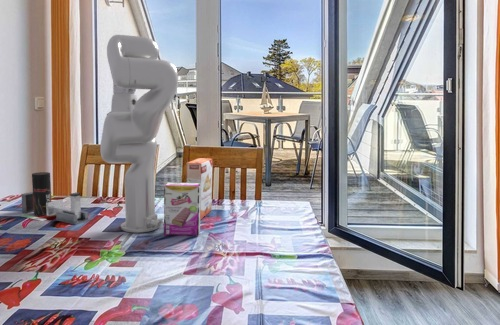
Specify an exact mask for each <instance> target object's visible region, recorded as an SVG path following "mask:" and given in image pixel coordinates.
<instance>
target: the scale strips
mask: <svg viewBox="0 0 500 325" xmlns="http://www.w3.org/2000/svg"><path fill="white" fill-rule="evenodd" d="M31 220H34V221H40V222H44V221H47V220H48V219H47V218H44V217H38V216H35V217H33V218H31Z"/></svg>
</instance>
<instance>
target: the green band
mask: <svg viewBox="0 0 500 325" xmlns="http://www.w3.org/2000/svg"><path fill="white" fill-rule="evenodd" d="M20 217H21V218H27V219H31V218H33V217H36V215H30V214H27V213H24V214H21V215H20ZM31 220H32V219H31Z"/></svg>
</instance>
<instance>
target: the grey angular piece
mask: <svg viewBox="0 0 500 325" xmlns="http://www.w3.org/2000/svg"><path fill="white" fill-rule="evenodd" d="M69 194H70V195H69V196H70V198H69V199H70V207H65V206H64V204H63V203H64V202H63V201H64V200H63V199H56V200H51V202H47V203H46V211H47V215H46V216H47V217H50V216H56V212H64V213H69V214H73V215H77V219H80V218H81V211H82V209H81V193H80V192H72V193H69Z"/></svg>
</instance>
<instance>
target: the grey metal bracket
mask: <svg viewBox="0 0 500 325" xmlns="http://www.w3.org/2000/svg"><path fill="white" fill-rule="evenodd" d="M55 216H56V219H55V221H58V222H61V223H62V222H63V223H66V224H71V225H75V226H76V225H79V224H82V223H86V222H89V221H91V220H92V218H89V212H88V211H84V210H81V218H80V219H77V215H73V214H69V213H64V212H56V214H55Z"/></svg>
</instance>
